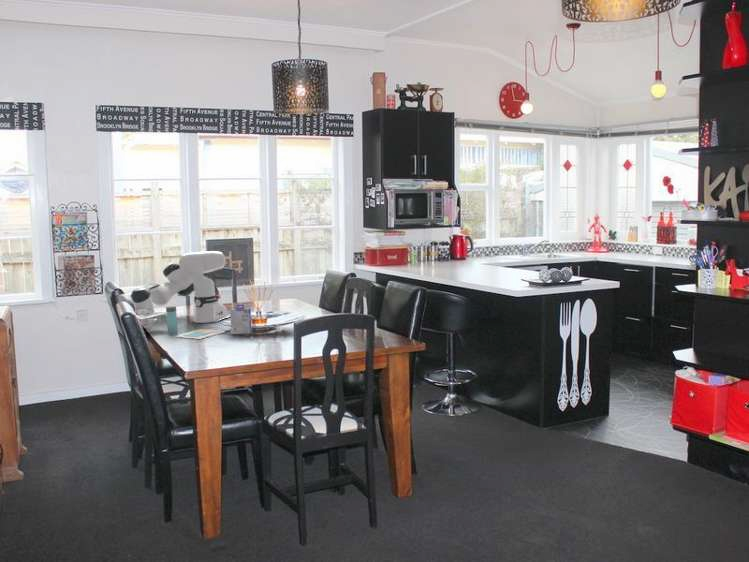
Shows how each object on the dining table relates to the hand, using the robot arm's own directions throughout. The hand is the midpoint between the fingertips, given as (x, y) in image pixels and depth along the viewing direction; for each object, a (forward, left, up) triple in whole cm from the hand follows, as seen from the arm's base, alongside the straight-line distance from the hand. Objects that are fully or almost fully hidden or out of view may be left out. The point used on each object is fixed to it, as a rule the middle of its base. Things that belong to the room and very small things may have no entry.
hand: (162, 319), depth 377 cm
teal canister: (-1, +6, -7) cm, 9 cm away
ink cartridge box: (-15, +40, -7) cm, 43 cm away
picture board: (-4, +22, -7) cm, 23 cm away
